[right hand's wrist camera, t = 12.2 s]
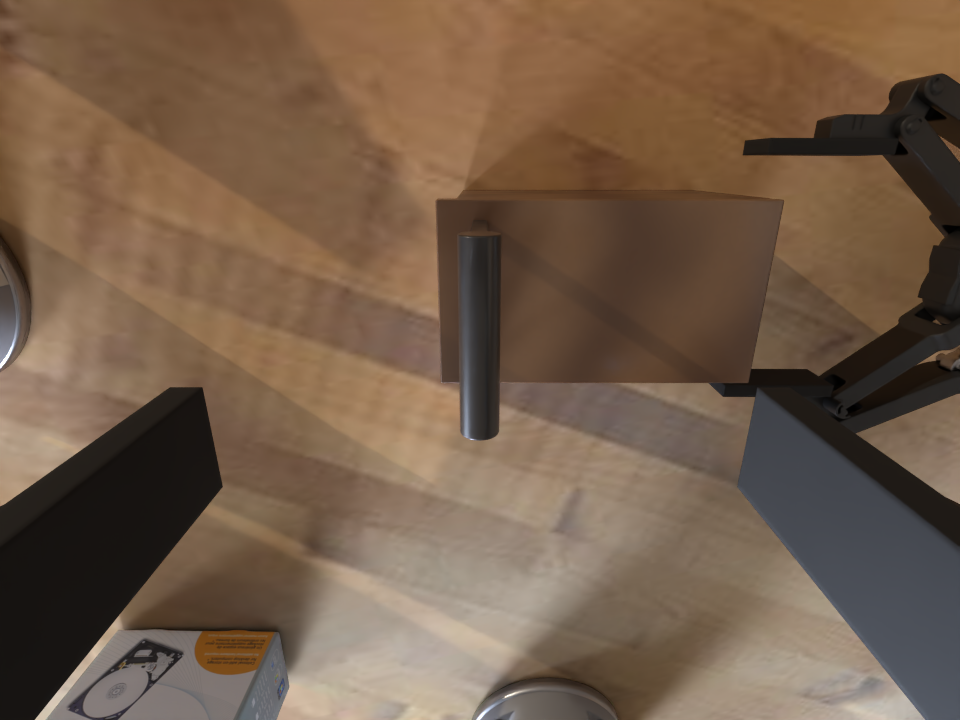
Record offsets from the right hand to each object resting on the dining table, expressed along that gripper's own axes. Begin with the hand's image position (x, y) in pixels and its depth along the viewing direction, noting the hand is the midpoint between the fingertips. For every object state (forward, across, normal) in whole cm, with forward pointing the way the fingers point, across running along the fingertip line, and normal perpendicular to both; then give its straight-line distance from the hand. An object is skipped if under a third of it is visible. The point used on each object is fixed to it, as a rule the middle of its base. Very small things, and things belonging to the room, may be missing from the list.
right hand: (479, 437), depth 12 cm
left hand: (+19, -15, 0) cm, 24 cm away
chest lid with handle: (+15, -6, 0) cm, 16 cm away
